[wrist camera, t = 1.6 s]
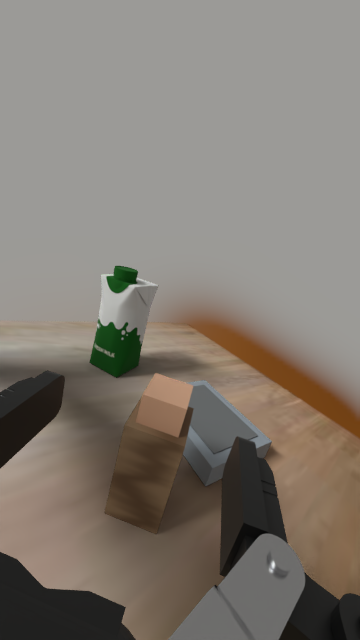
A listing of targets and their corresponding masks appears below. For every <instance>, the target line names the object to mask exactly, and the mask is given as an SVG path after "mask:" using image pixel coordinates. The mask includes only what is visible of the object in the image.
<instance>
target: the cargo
mask: <svg viewBox="0 0 360 640" xmlns="http://www.w3.org/2000/svg"><path fill="white" fill-rule="evenodd" d="M192 389H193V385H190V384H187V383H184V382H181V381H178V380H175V379H172V378H169V377H166V376H163V375H160V374H157V373H155V375H154V376H153V378H152V380H151V381H150V383H149V384H148V386H147V388H146V389H145V391H144V393H143V394H142V398H141V403H140V407H139V411H138V415H137V419H136V423H139V424H142V425H145V426H148V427H150V428H153V429H156V430H159V431H161V432H164V433H167V434H170V435H173V436H175V437H179V434H180V431H181V427H182V424H183V421H184V418H185V415H186V411H187V408H188V404H189V401H190V397H191V393H192Z"/></svg>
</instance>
